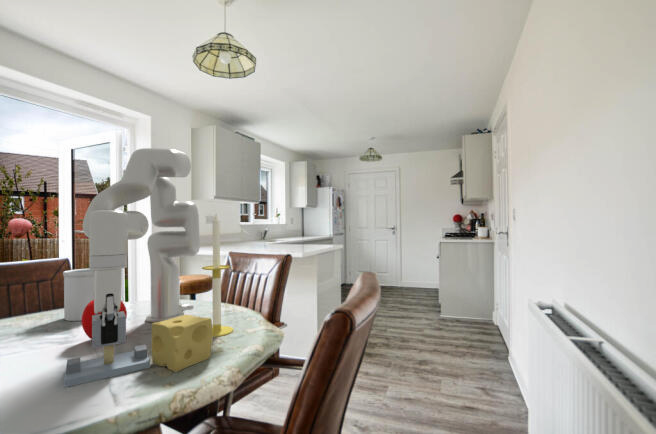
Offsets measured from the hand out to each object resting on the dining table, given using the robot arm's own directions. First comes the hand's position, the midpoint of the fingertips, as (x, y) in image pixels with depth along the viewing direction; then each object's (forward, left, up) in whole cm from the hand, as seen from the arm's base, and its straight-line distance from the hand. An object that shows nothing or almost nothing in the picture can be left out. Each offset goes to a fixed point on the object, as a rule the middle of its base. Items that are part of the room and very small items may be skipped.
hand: (108, 338), depth 79 cm
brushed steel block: (0, 0, -1) cm, 1 cm away
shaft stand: (0, 0, -7) cm, 7 cm away
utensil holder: (+4, -62, -8) cm, 63 cm away
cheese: (-15, +5, -8) cm, 17 cm away
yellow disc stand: (-29, -12, -7) cm, 32 cm away
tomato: (0, -26, -7) cm, 27 cm away
